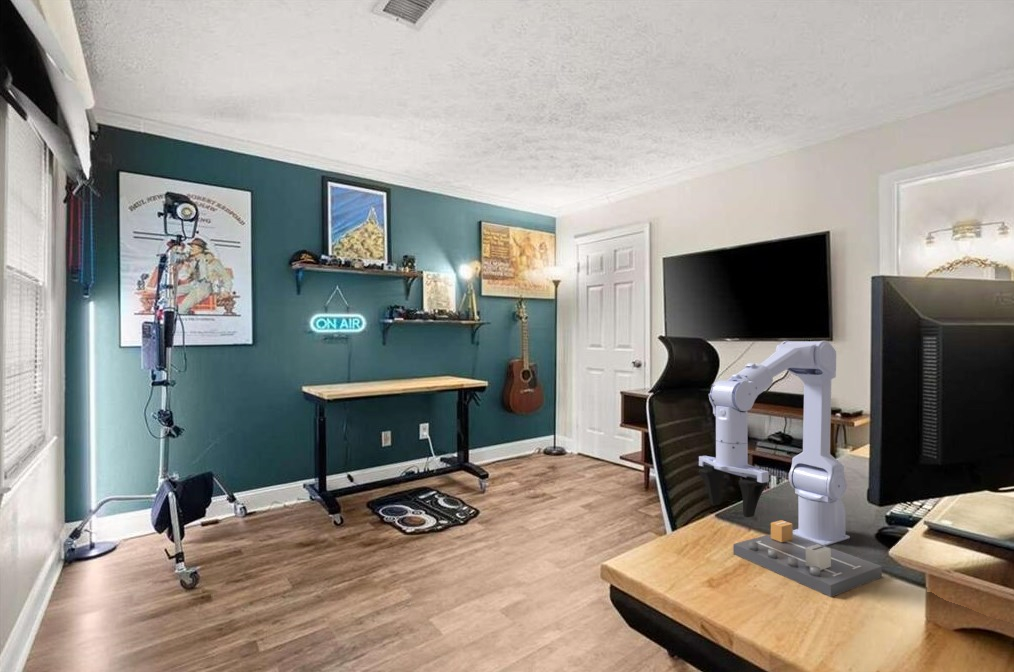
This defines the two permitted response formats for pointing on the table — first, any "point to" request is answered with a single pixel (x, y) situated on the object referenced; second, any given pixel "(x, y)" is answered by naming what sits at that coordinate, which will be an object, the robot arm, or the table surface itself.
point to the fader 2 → (818, 556)
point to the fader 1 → (781, 531)
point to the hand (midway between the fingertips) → (731, 510)
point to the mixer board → (792, 565)
